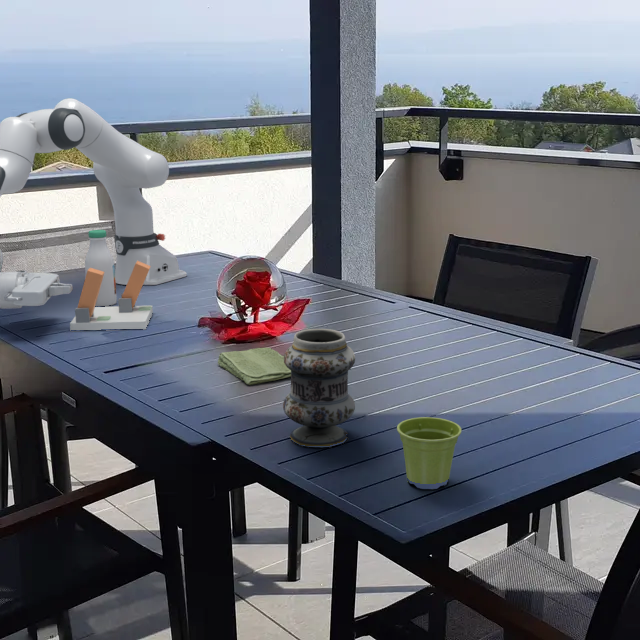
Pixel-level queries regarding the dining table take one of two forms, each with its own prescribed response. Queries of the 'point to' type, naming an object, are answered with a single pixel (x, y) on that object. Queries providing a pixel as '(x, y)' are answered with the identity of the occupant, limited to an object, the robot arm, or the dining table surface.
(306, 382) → the apothecary jar
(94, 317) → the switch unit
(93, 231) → the milk bottle
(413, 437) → the plant pot
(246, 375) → the washcloth
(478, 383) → the dining table surface
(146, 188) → the robot arm
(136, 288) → the lever
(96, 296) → the lever
